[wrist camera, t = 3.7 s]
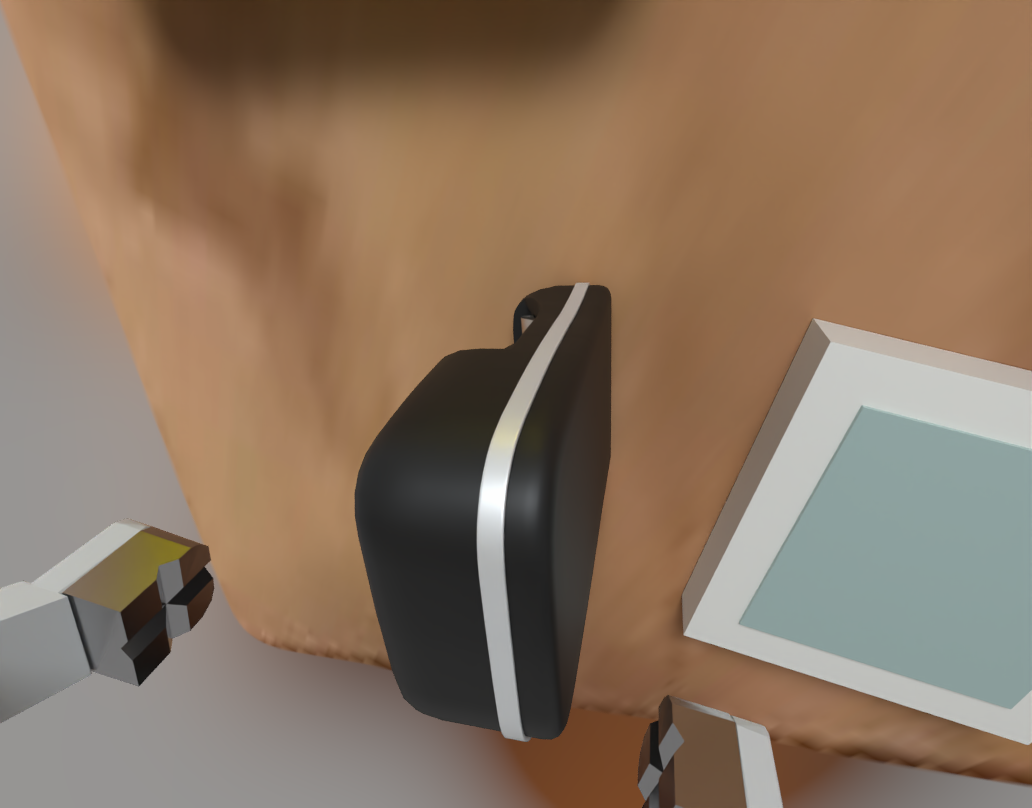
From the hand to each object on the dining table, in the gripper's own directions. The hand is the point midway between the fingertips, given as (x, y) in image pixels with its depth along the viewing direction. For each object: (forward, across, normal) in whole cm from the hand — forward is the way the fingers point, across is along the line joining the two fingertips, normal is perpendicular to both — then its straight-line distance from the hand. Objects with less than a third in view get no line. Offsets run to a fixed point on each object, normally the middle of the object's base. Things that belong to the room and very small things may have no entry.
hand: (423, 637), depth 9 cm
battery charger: (+12, 0, 0) cm, 12 cm away
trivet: (+11, -14, +2) cm, 18 cm away
